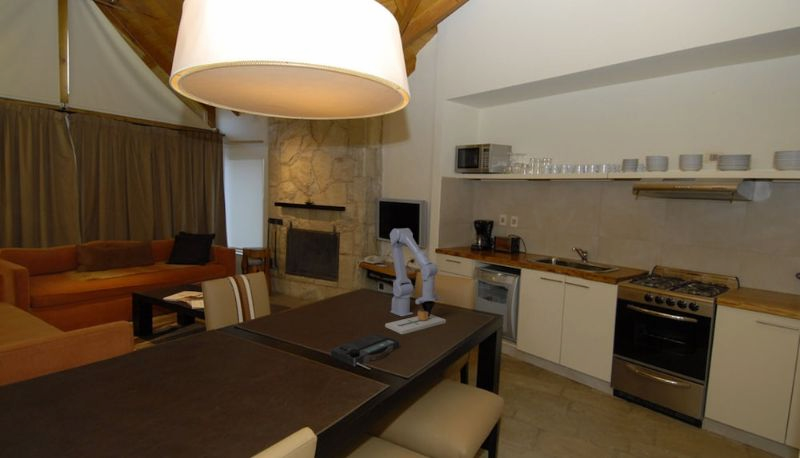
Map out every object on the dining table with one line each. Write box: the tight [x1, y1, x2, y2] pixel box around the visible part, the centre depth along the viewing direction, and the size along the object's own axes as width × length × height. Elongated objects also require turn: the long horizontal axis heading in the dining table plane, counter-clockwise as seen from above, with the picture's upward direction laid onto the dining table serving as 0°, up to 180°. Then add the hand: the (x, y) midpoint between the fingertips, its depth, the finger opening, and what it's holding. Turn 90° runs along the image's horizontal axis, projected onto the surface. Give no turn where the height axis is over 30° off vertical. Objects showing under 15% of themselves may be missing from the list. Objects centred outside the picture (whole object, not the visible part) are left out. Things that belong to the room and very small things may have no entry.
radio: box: [330, 332, 401, 370], centre depth 155 cm, size 25×4×20 cm
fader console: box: [384, 313, 447, 335], centre depth 191 cm, size 12×28×2 cm, turn 130°
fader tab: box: [417, 309, 428, 321], centre depth 194 cm, size 4×3×4 cm
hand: (427, 316), depth 196 cm, fingers closed
